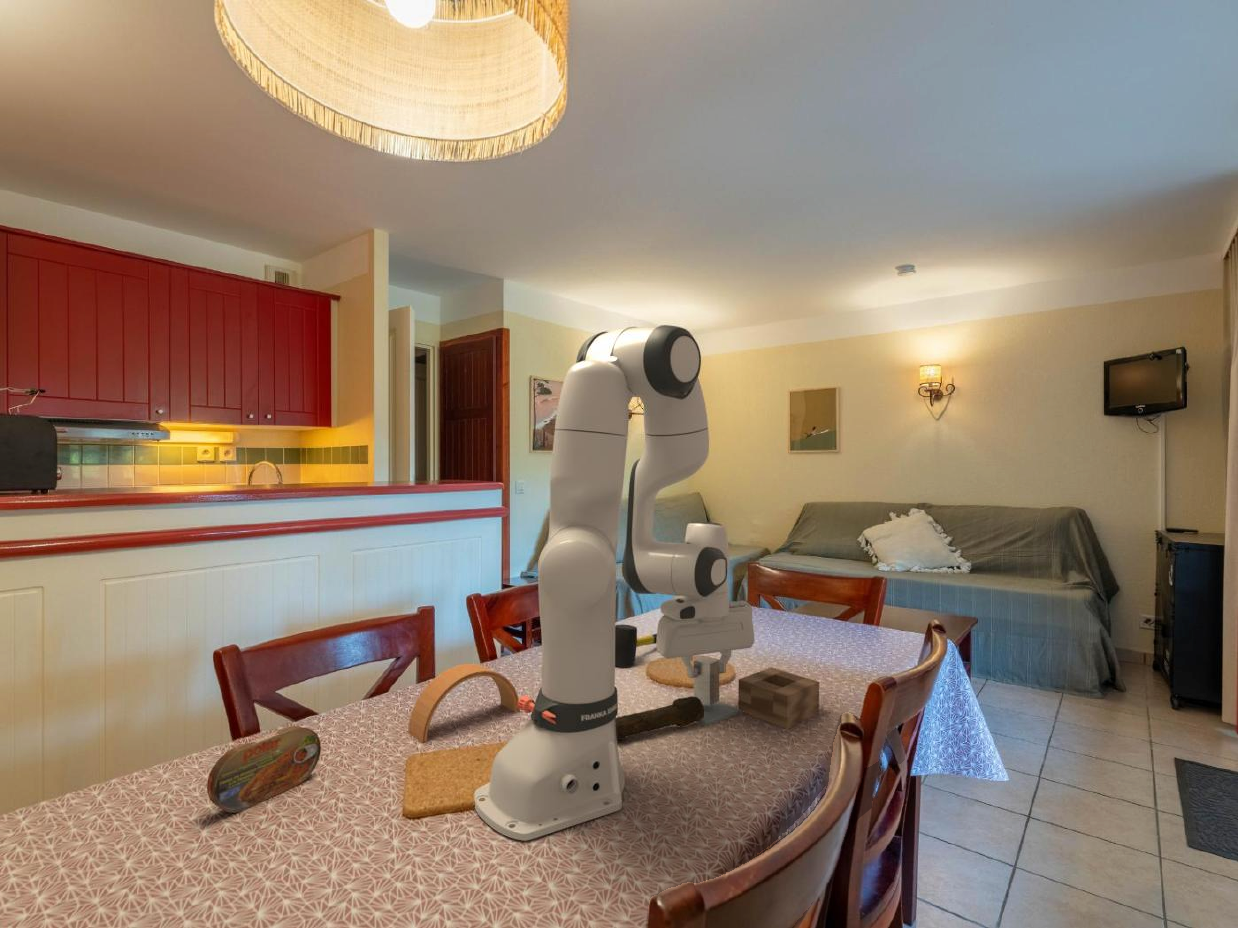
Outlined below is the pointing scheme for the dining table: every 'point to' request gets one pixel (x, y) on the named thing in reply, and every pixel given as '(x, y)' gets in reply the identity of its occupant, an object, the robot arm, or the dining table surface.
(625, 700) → the dining table surface
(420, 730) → the arch
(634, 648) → the mallet
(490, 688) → the dining table surface
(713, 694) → the gray rectangular block
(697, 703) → the hand tool
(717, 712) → the pad
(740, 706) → the block with square hole
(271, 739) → the tin
